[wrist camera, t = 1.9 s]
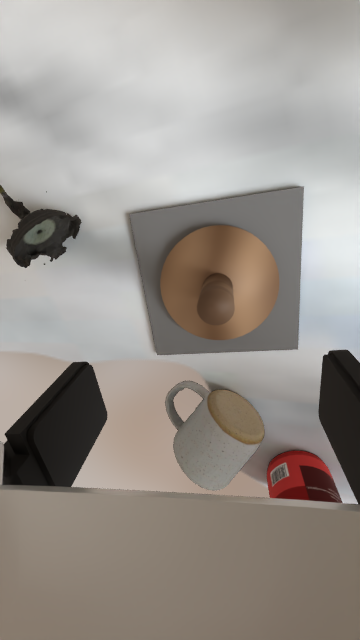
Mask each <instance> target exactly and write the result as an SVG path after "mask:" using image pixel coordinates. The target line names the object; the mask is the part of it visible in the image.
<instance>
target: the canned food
mask: <svg viewBox="0 0 360 640" xmlns="http://www.w3.org/2000/svg"><path fill="white" fill-rule="evenodd" d="M267 482H268V489H269V495H270V498H278V499H294V500H308V501H321V502H334V503H342V500H341V498H340V495H339V493H338V490H337V488H336V485H335V483H334V481H333V478H332V476H331V473H330V471H329V469H328V467H327V466H326V465H325V463H324V462H323V461H322V460H321V459H320V458H319V457H318V456H316V455H314V454H312V453H309V452H305V451H288V452H284V453H282V454H279V455H278V456H276V457H275V458H274V459H273V460H272V461H271V462H270V464H269V466H268V470H267Z"/></svg>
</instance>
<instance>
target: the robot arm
mask: <svg viewBox="0 0 360 640" xmlns="http://www.w3.org/2000/svg"><path fill="white" fill-rule="evenodd" d="M319 419H320V422H321V424H322V426H323V428H324V430H325V433H326V435H327V437H328V439H329V441H330V443H331V446H332V448H333V450H334V452H335V454H336V456H337V459H338V461H339V463H340V465H341V467H342V469H343V472H344V474H345V476H346V478H347V480H348V482H349V484H350V487H351V489H352V491H353V493H354V495H355V497H356V500H357V502H358V504H347V503H334V502H321V501H308V500H294V499H278V498H260V497H244V496H227V495H211V494H194V493H176V492H158V491H156V492H155V491H139V490H120V489H100V488H99V489H98V488H79V487H71V486H72V484H73V482H74V480H75V478H76V477H77V475H78V473H79V471H80V469H81V467H82V465H83V463H84V461H85V460H86V458H87V456H88V454H89V452H90V450H91V449H92V447H93V445H94V443H95V441H96V439H97V437H98V436H99V434H100V432H101V430H102V428H103V426H104V424H105V422H106V420H107V411H106V408H105V405H104V402H103V398H102V395H101V392H100V389H99V385H98V382H97V379H96V376H95V373H94V370H93V367H92V366H91V365H89V363H88V362H73V363H72V364H71V365H70V366H69V367H68V368H67V369H66V370H65V371H64V372H63V373H62V374H61V375H60V376H59V377H58V378H57V380H56V381H55V382H54V383H53V384H52V385H51V386H50V387H49V388H48V389H47V390H46V391H45V392H44V393H43V394H42V395H41V396H40V397H39V398H38V399H37V400H36V402H35V403H34V404H33V405H32V406H31V407H30V408H29V409H28V410H27V411H26V412H25V413H24V414H23V415H22V416H21V417H20V418H19V419H18V420H17V421H16V422H15V424H14V425H13V426H12V427H11V428H10V429H9V430H8V431H7V432H6V433H5V436H6V437H7V442H6V443H5V444H3V443H2V442H1V441H0V640H360V363H359V362H358V361H357V359H356V358H355V357H354V356H353V355H352V354H351V353H350V352H349V351H348V350H333V351H329V353H328V355H324V356H323V363H322V375H321V387H320V399H319Z"/></svg>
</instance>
